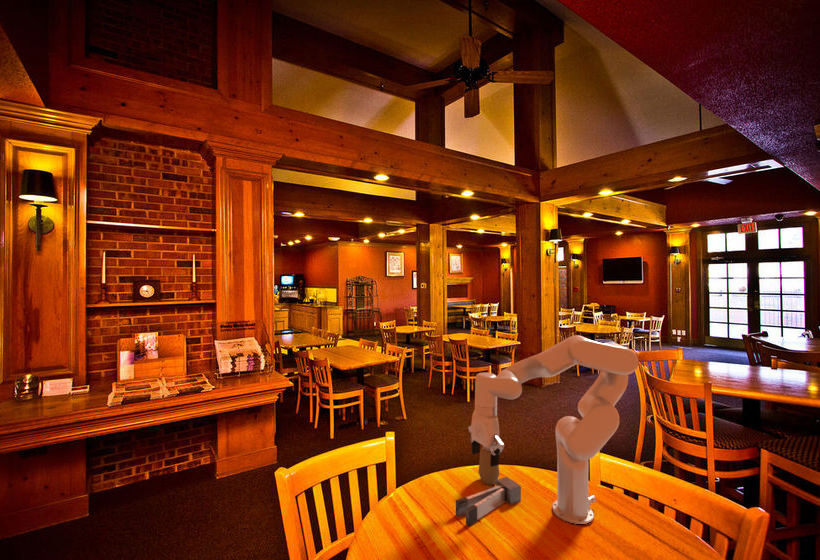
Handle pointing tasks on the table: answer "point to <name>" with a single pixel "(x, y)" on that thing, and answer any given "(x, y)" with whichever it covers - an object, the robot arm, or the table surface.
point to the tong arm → (484, 506)
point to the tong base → (510, 492)
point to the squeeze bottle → (487, 467)
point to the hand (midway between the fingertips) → (484, 459)
